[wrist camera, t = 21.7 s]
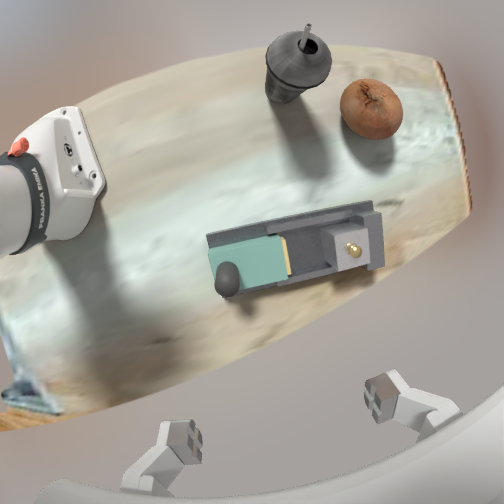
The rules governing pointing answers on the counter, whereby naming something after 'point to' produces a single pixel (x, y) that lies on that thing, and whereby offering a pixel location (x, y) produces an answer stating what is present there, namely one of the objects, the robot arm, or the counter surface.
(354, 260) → the housing
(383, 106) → the onion
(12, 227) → the robot arm
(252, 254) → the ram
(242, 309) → the counter surface
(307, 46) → the beverage cup
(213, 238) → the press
